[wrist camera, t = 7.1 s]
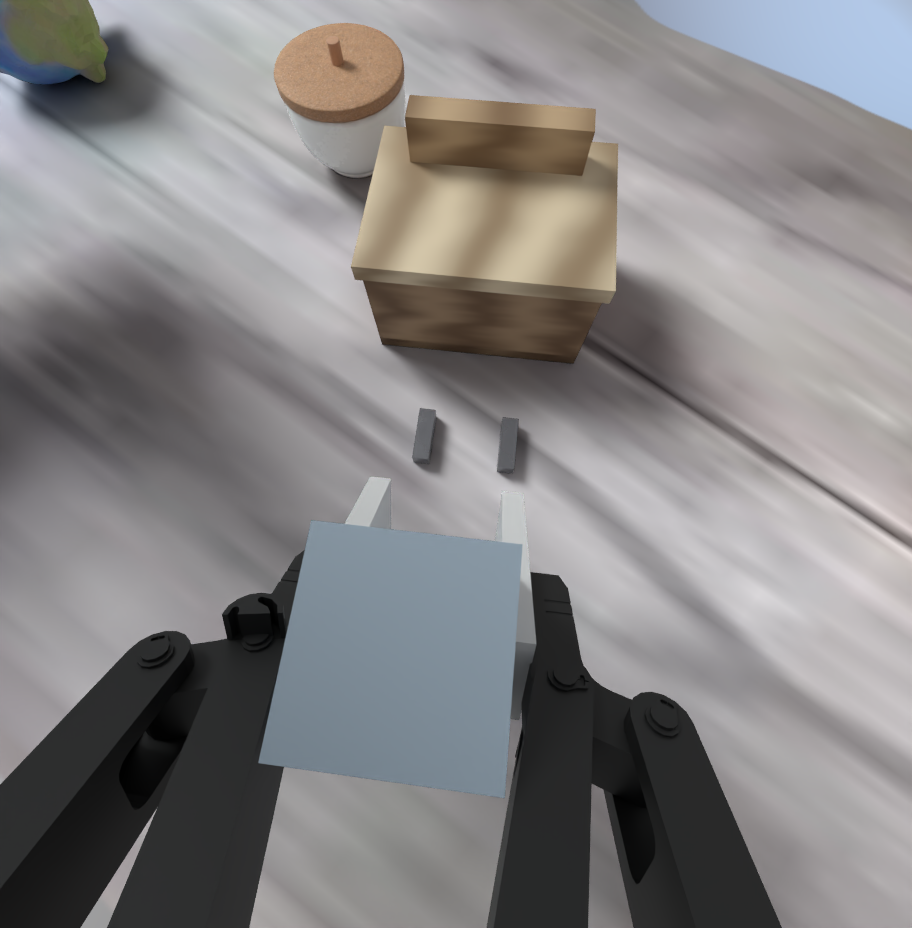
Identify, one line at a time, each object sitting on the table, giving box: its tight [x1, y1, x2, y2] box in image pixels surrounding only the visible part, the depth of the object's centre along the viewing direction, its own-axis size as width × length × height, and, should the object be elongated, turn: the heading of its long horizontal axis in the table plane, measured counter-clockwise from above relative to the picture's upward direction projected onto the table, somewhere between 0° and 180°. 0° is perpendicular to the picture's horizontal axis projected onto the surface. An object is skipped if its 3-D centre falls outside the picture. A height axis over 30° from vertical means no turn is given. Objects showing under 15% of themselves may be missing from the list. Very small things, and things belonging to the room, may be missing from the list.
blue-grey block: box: [258, 520, 523, 798], centre depth 13 cm, size 4×4×11 cm
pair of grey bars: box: [412, 408, 519, 473], centre depth 34 cm, size 8×4×1 cm, turn 83°
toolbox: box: [363, 280, 601, 364], centre depth 35 cm, size 16×12×8 cm
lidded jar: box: [274, 23, 405, 178], centre depth 39 cm, size 11×11×9 cm
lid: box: [351, 95, 618, 304], centre depth 29 cm, size 17×13×4 cm
